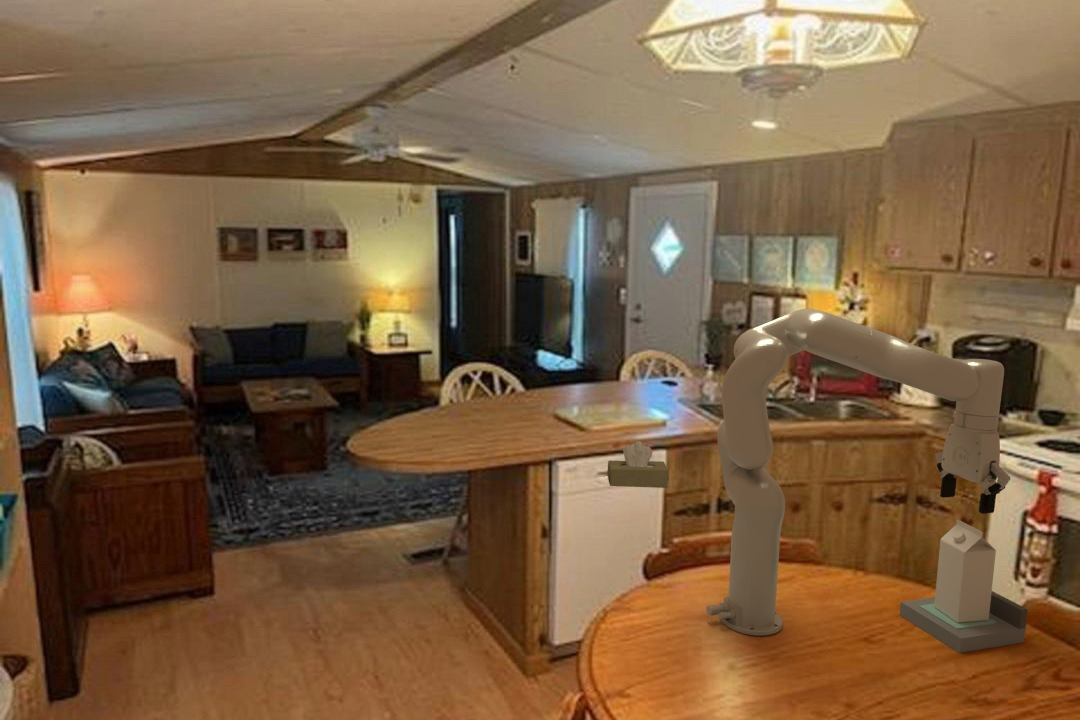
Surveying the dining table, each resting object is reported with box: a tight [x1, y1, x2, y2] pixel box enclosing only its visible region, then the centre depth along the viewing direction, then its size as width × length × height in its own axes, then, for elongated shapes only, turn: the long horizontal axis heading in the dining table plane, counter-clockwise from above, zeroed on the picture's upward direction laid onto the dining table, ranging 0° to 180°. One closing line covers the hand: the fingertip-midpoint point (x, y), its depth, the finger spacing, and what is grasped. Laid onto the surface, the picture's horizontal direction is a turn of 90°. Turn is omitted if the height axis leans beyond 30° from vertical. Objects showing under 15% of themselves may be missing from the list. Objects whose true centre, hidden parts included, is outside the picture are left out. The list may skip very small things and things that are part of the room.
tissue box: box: [606, 440, 669, 489], centre depth 246 cm, size 19×10×16 cm, turn 89°
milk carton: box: [934, 519, 997, 622], centre depth 156 cm, size 7×7×19 cm
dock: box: [899, 590, 1028, 654], centre depth 158 cm, size 16×16×7 cm
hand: (966, 504), depth 154 cm, fingers open, 9 cm apart
